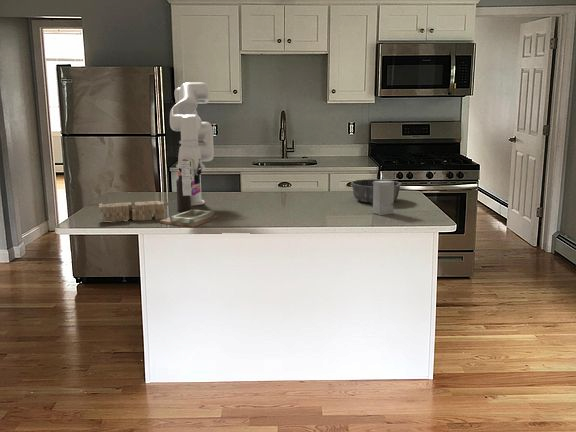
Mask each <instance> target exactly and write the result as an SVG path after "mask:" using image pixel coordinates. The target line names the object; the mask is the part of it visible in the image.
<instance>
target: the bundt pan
mask: <svg viewBox="0 0 576 432" xmlns="http://www.w3.org/2000/svg"><path fill="white" fill-rule="evenodd" d="M374 181H392V182H394V201H396V200H397V199H398V197H399V193H400V189H401V188H400V187H401V185H402V183H401V182H399V181H397V180H389V179H383V178H382V179H381V178H380V179H376V178H369V179H356V180H351V183H350V184H351V186H352V187H351V189H352V194H353V197H354V198H355V200H357V201H359V202H360V203H370V204H373V182H374Z"/></svg>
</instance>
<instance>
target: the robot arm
mask: <svg viewBox="0 0 576 432" xmlns="http://www.w3.org/2000/svg"><path fill="white" fill-rule="evenodd" d="M210 91H211V90H210V86H209V85H208V83H206V82H203V81H202V82H201V81H200V82H199V81H198V82H197V81H196V82H193V81H192V82H185V83H182V84H181V85H180V87H177V88H175V89H174V93H173V94H174V99H175V102H176V103H175V104H174V105H173V106H172V108H171V109H170V112H169V126H170V129H171V130H172V131H175V132H180V140H179V141H178V143H179V145H180V146H179V148H178V157H177V158H178V159H177V160H178V161H177V163H176V165H175V167H176V169H177V170H179V171H180V172H181V160H183V159H192V161H193V169H194V172H195V176H194V180H195V184H199V183H200V191H201V192H199V193H197V194H195V195H193V196H191V207H193V206H199V205H204V204H205V200H204V199H202V183H201V182H202V180H201V177H202V175H201V174H202V173H203V171H205V169H206V166H205V165H204V163H203V162H211V161H212V160H214V157H215V156H214V155H215V154H214V153H215V149H214V130H213V127H212V123H210V122H209V121H202V118H201V117H200V115H198V111H197V108H198V105H199V104H200V105H203V104H208V103H209V102H210V97H211V96H210V95H211V92H210ZM199 141H203V142H199ZM181 174H182V172H181Z"/></svg>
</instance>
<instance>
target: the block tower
mask: <svg viewBox="0 0 576 432" xmlns="http://www.w3.org/2000/svg"><path fill="white" fill-rule="evenodd" d="M98 210H99V213H102V222H103V221H124V220H126V221H125V222H129V221H130V220H129V219H132V220H140V221H152V220H153V218H154V220H163V219H166V218H165V217H166V215H165V203H164V201H160V200H154V201H153V200H150V201H135V202H134V207H133V203H132V202H130V201H129V202H116V203H102V202H101V203H99V204H98ZM128 220H129V221H128ZM132 220H131V221H132Z"/></svg>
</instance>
